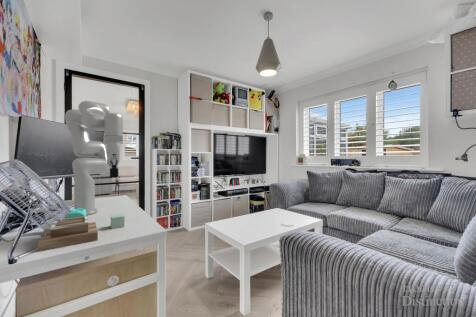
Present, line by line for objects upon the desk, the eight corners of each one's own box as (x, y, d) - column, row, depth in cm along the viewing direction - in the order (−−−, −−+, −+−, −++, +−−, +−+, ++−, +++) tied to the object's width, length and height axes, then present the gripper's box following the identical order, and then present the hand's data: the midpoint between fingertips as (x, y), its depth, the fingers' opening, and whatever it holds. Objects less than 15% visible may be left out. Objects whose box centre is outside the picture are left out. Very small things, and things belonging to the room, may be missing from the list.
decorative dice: (62, 227, 96) (62, 210, 96) (84, 224, 101) (84, 207, 101) (63, 232, 90) (63, 214, 90) (86, 228, 95) (86, 211, 95)
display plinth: (44, 236, 85) (44, 219, 85) (95, 228, 95) (95, 213, 95) (38, 251, 72) (38, 231, 72) (97, 240, 83) (97, 222, 83)
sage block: (110, 226, 99) (110, 215, 99) (122, 224, 102) (122, 213, 102) (111, 229, 95) (111, 218, 95) (124, 227, 98) (124, 216, 98)
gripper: (104, 141, 104) (105, 176, 104) (103, 138, 89) (103, 178, 89) (122, 142, 108) (122, 175, 108) (123, 138, 93) (124, 177, 93)
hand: (114, 176), depth 99 cm, fingers open, 9 cm apart
